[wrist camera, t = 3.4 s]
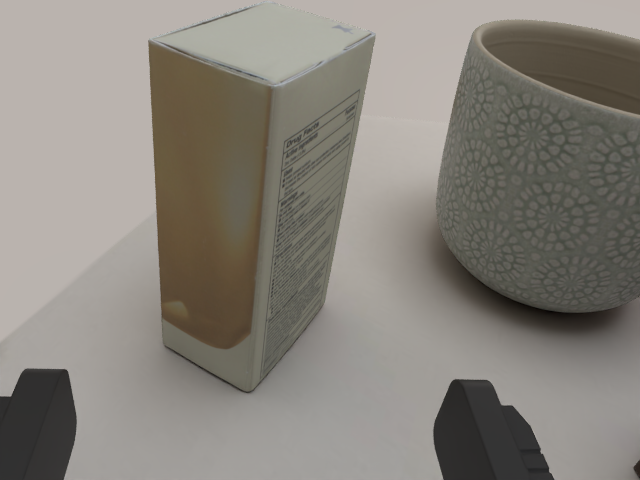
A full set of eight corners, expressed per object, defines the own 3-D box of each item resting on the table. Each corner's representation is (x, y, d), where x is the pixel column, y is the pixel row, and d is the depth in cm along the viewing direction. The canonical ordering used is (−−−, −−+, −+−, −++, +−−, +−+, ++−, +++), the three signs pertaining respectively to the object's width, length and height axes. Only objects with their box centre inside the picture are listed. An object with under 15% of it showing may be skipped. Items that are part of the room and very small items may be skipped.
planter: (657, 258, 33) (773, 75, 26) (633, 398, 24) (801, 170, 17) (457, 178, 37) (514, 5, 31) (372, 271, 28) (428, 52, 21)
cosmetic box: (247, 266, 27) (270, -5, 20) (327, 305, 25) (384, 28, 18) (153, 349, 22) (138, 30, 15) (245, 402, 21) (278, 79, 13)
